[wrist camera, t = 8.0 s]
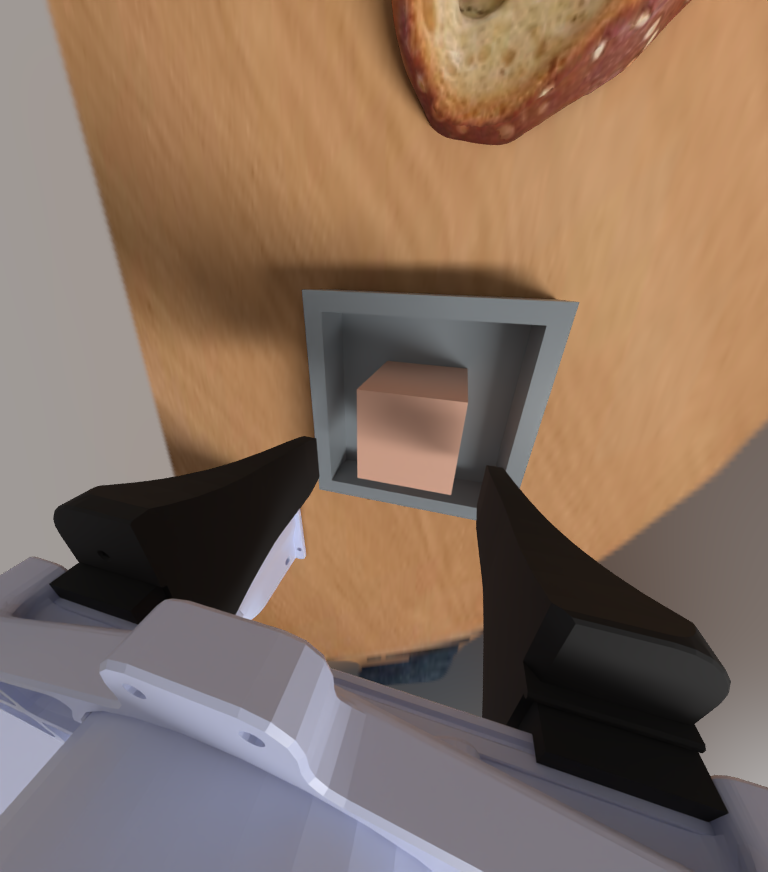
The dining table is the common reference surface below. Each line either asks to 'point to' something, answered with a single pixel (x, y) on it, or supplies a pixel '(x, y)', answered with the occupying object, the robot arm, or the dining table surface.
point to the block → (411, 425)
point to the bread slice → (517, 57)
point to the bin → (442, 346)
